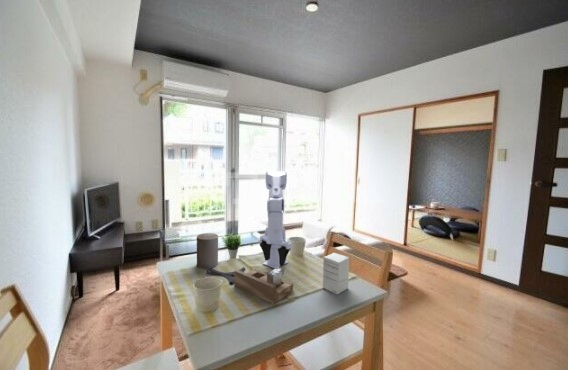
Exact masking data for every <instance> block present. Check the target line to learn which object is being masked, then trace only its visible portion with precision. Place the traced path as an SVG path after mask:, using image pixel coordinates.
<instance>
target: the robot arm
mask: <svg viewBox="0 0 568 370" xmlns="http://www.w3.org/2000/svg"><path fill="white" fill-rule="evenodd" d="M287 178H288V172H287V171H285V170H283V171H275V170H273V171H271V170H270V171H269V170H266V172H265V187H266V189H267V190H268V199H267V200H266V201H267V202H266V203H267V204H266V211H267V227H266V228H265V229H264V235H260V236H259V241H260V242H259V247H260V248H261V250H262V253H263V257H264V260H265V262H263V263H262V265H265V266H267V267H270V268H273V269H276V268H280V267H282V266H284V265H286V264H288V263H289V261H287V257H288V254H289V253H290V251H291V249H292V242H289V241H287V240H286V238H287V237H286V229H285V227H283V226H284V225H283V224H284V223H283V222H284V211H285V198H284V193H283V190H286V187H287V181H288V179H287Z"/></svg>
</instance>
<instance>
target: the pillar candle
mask: <svg viewBox="0 0 568 370" xmlns="http://www.w3.org/2000/svg"><path fill="white" fill-rule="evenodd" d="M218 264H219V235H218V234H216V233H213V232H205V233H200V234H197V236H196V267H197V268H199V269H203V270H204V269H205V270H206V269H207V270H208V269H209V268H212V269H213V268H215V267H218Z"/></svg>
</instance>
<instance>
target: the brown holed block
mask: <svg viewBox="0 0 568 370" xmlns="http://www.w3.org/2000/svg"><path fill="white" fill-rule="evenodd" d="M239 270H240V269H236V270H234V271H233V272H234V277H233V278H234V284H233V285H234V286H235V287H236V288H238V289H241V290H242V291H245V292H247V293H248V294H252V295H253V296H255V297H257V298H259V299H261V300H264V301H266V302H268V303H270V304H272V305H273V304H275V303H277V302H279V301H281V299H284V298H285V297H286V296H288V295H289V294H291V293H294V283H293V282H289V281H286V280H284V279H282V285H281V286H279V287H277V288H276V286H275V285H273V284H270V283H268V282H267V273H268V272H267V273H266V272H263V271H262V270H259V269H257V268H255V269H253V270H250V271H248V272H245V271H244V272H242V271H239Z"/></svg>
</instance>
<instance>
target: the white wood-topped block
mask: <svg viewBox="0 0 568 370" xmlns="http://www.w3.org/2000/svg"><path fill="white" fill-rule="evenodd" d="M284 274H285V270H284V269H282V268H280V267H278V268H273V269H272V270H269V271H267V282H268V283H270V284H273V285H275V286H276V288H277V287H279V286H281V285H282V280H283V275H284Z"/></svg>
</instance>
